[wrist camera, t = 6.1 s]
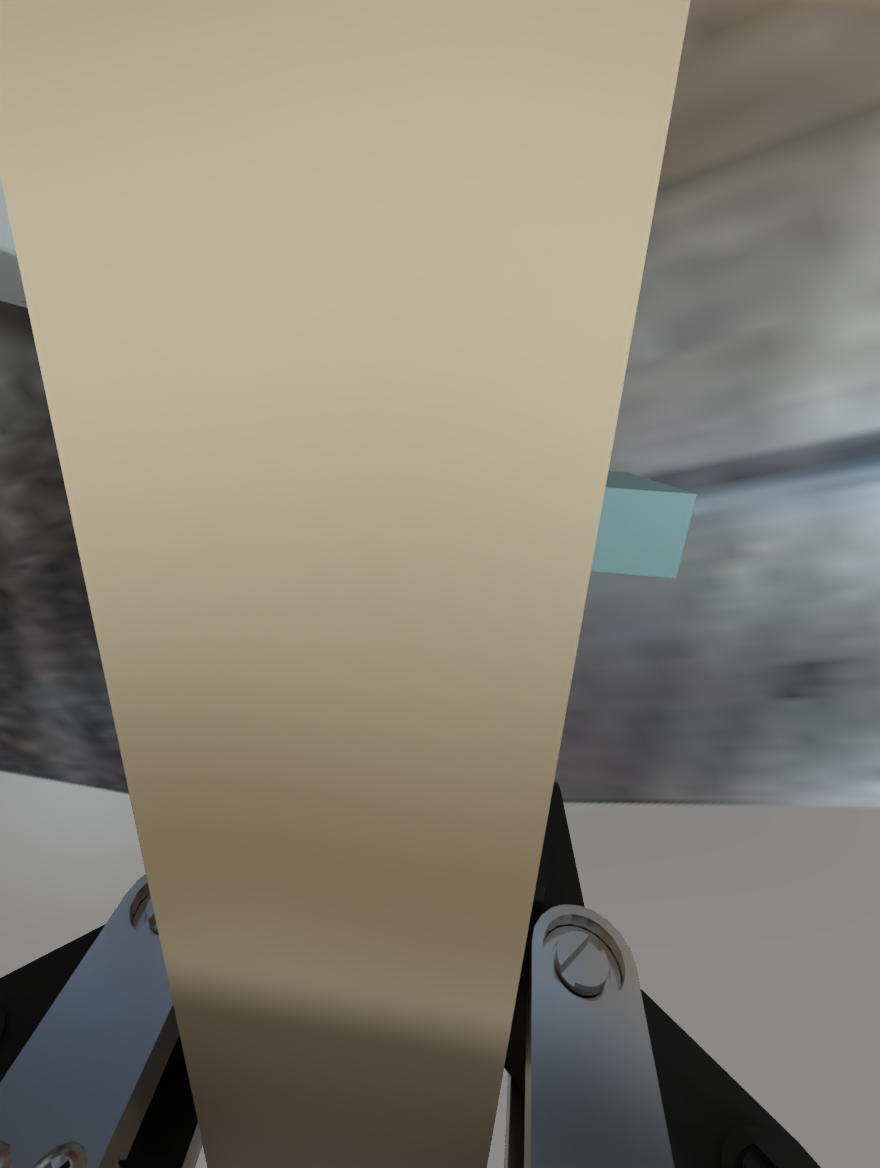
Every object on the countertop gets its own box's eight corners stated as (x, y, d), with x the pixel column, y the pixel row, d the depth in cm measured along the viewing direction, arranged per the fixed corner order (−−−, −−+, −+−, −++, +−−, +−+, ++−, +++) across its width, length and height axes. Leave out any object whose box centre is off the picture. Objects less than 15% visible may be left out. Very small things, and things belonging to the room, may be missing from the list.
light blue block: (628, 472, 23) (696, 493, 15) (617, 531, 24) (676, 578, 16) (318, 452, 24) (240, 462, 17) (319, 508, 25) (247, 542, 17)
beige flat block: (380, 243, 9) (-200, -781, 1) (535, 248, 9) (854, -944, 1) (374, 776, 13) (223, 1242, 6) (477, 789, 13) (465, 1291, 5)
